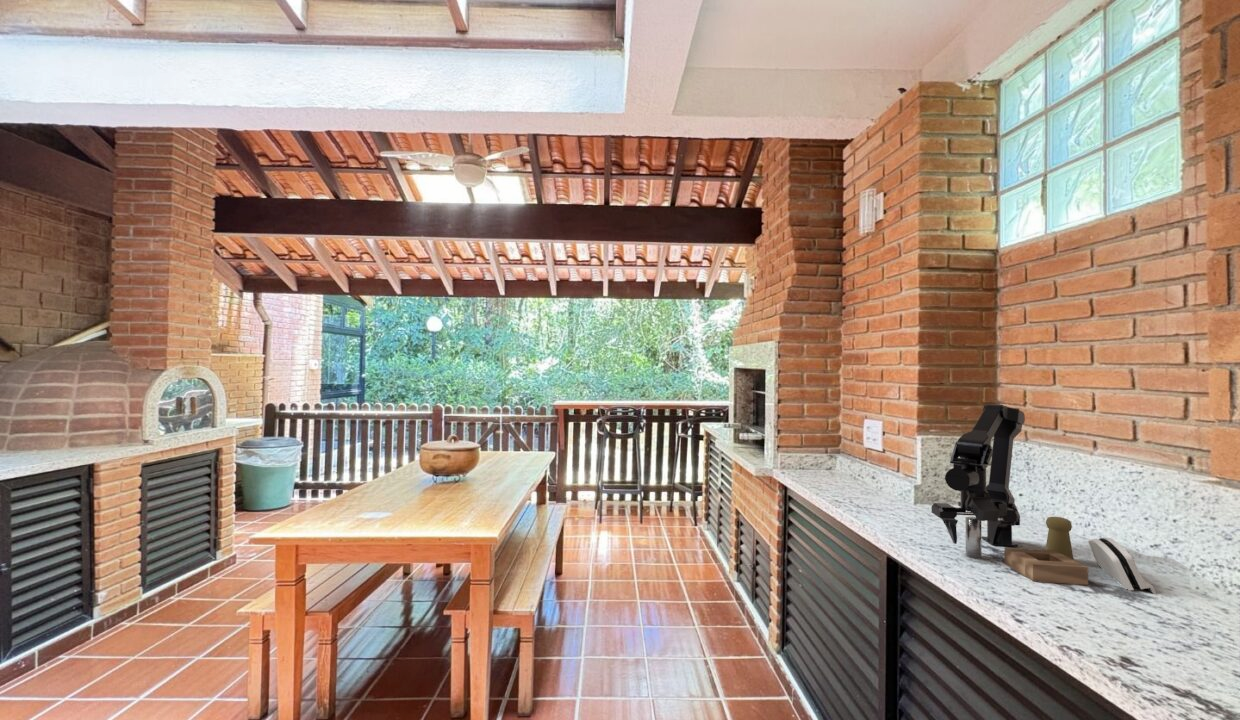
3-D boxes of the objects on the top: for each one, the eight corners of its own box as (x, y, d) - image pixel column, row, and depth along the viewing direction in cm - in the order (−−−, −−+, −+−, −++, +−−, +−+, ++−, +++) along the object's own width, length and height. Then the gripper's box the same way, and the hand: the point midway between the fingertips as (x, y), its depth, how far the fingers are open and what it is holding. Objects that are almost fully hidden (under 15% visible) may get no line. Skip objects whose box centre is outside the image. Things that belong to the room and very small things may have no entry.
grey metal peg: (963, 553, 140) (962, 516, 140) (977, 554, 140) (977, 517, 140) (969, 558, 137) (969, 520, 137) (984, 559, 136) (984, 520, 136)
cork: (1047, 561, 135) (1047, 518, 135) (1041, 554, 140) (1041, 513, 140) (1077, 565, 132) (1077, 522, 132) (1070, 558, 137) (1070, 516, 137)
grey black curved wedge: (1157, 594, 115) (1136, 549, 117) (1130, 597, 117) (1110, 553, 119) (1123, 568, 130) (1105, 529, 132) (1100, 572, 132) (1083, 532, 134)
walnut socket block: (1004, 563, 133) (1004, 547, 133) (1054, 566, 131) (1054, 550, 131) (1033, 581, 122) (1032, 564, 122) (1088, 584, 120) (1087, 567, 120)
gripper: (949, 491, 132) (950, 552, 132) (1031, 494, 129) (1031, 557, 129) (930, 481, 143) (930, 538, 143) (1005, 484, 140) (1005, 542, 140)
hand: (973, 544), depth 138 cm, fingers open, 9 cm apart
